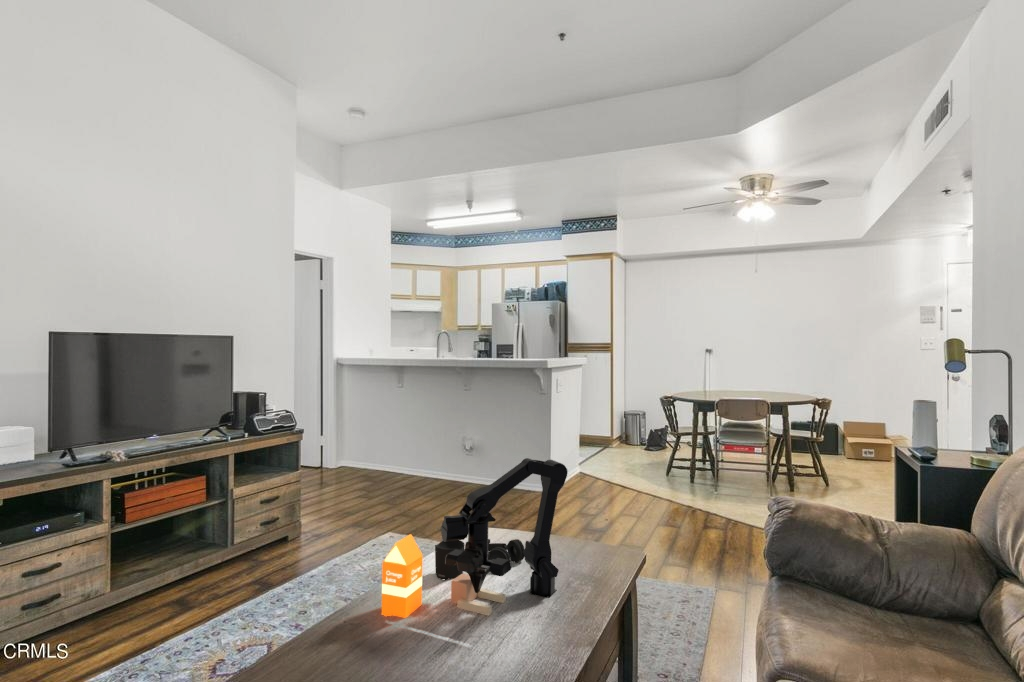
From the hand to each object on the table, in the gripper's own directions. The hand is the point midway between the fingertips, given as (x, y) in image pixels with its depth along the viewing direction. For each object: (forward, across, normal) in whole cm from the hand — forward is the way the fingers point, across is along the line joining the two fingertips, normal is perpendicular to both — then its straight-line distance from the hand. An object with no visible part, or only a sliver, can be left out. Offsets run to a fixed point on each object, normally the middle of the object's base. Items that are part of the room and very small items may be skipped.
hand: (477, 592), depth 161 cm
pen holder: (+4, -18, +14) cm, 24 cm away
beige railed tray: (+4, -2, 0) cm, 4 cm away
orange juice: (+4, -17, -13) cm, 21 cm away
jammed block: (+3, -4, 0) cm, 5 cm away
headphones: (+4, -12, +32) cm, 34 cm away
